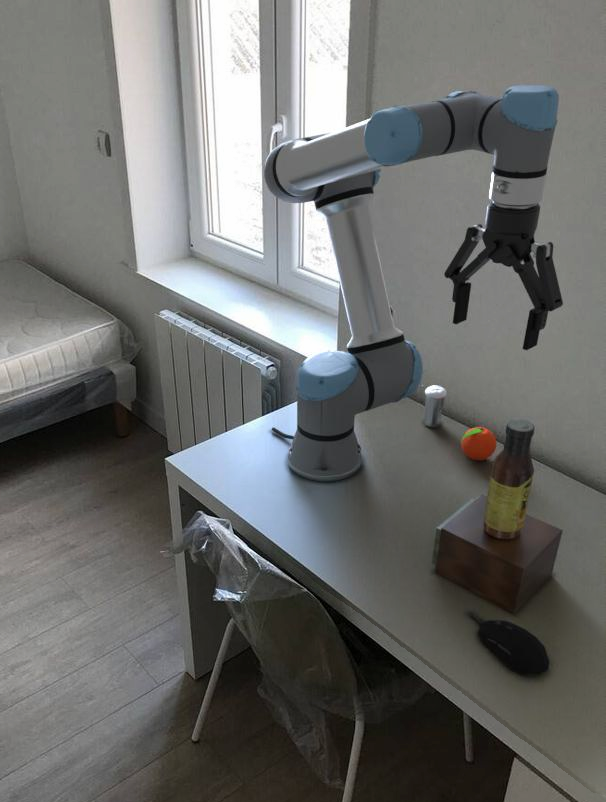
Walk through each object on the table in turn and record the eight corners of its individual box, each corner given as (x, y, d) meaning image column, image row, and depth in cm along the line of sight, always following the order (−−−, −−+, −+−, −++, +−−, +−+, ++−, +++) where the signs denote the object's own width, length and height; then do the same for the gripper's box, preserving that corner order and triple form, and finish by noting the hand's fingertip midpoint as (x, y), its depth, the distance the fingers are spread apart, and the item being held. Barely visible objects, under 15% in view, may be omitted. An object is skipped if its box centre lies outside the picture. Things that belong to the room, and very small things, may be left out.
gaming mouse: (485, 607, 127) (488, 590, 125) (557, 667, 116) (562, 649, 114) (455, 622, 125) (458, 604, 123) (526, 685, 114) (531, 666, 112)
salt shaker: (416, 418, 177) (420, 379, 171) (440, 418, 176) (445, 379, 171) (419, 429, 173) (424, 389, 167) (444, 428, 173) (449, 389, 167)
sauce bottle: (523, 543, 125) (546, 439, 114) (483, 539, 126) (501, 436, 115) (519, 518, 130) (541, 416, 119) (480, 515, 132) (498, 413, 120)
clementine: (465, 470, 159) (470, 441, 155) (448, 453, 165) (452, 424, 161) (500, 463, 161) (505, 434, 157) (482, 446, 166) (487, 417, 162)
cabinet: (435, 572, 135) (441, 528, 129) (474, 537, 142) (482, 494, 136) (513, 614, 126) (523, 568, 120) (551, 574, 133) (563, 530, 127)
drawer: (425, 560, 136) (430, 524, 132) (462, 529, 143) (467, 494, 138) (502, 600, 127) (510, 564, 123) (537, 565, 134) (546, 530, 129)
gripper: (431, 191, 122) (418, 317, 134) (577, 226, 105) (547, 366, 117) (461, 182, 126) (446, 305, 138) (607, 213, 109) (575, 351, 121)
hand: (493, 334), depth 128 cm, fingers open, 13 cm apart
